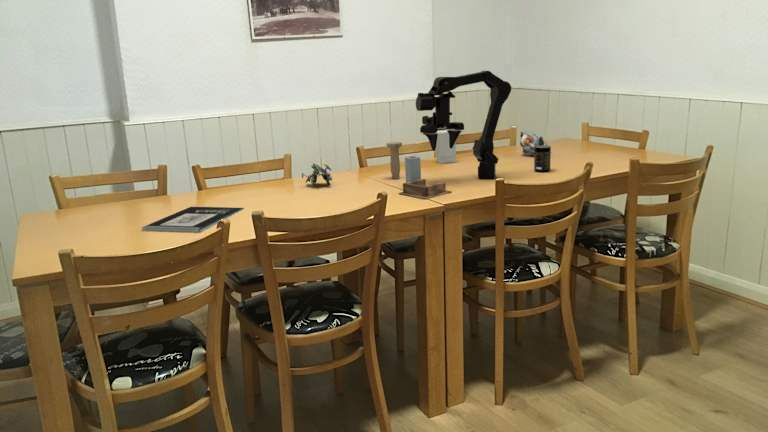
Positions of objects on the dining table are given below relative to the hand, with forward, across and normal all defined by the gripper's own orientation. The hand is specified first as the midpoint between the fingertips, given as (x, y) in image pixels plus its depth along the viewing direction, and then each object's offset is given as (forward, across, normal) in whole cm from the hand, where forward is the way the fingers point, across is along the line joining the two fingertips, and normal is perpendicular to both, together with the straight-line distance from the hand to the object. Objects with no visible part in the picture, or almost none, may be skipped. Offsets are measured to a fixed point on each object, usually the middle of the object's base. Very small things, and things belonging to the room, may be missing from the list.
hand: (442, 149), depth 252 cm
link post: (+14, +14, -2) cm, 19 cm away
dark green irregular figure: (+15, +37, -34) cm, 53 cm away
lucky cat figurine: (+12, -72, -12) cm, 74 cm away
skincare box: (+13, -32, -33) cm, 48 cm away
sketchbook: (+17, +95, -21) cm, 99 cm away
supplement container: (+12, -43, +15) cm, 47 cm away
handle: (+14, +7, -22) cm, 27 cm away
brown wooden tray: (+14, +17, +9) cm, 23 cm away
